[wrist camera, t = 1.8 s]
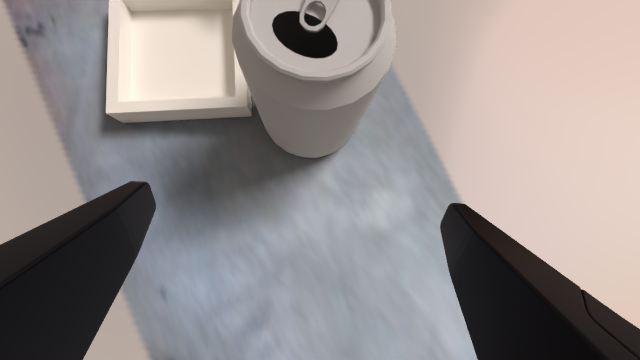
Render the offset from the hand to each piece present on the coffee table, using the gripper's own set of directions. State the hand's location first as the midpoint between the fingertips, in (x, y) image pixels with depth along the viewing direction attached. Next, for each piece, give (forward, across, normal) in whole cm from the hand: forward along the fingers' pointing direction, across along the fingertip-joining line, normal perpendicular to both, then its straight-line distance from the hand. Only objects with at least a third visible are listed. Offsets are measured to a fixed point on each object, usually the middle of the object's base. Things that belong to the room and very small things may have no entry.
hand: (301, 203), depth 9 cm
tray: (+18, +10, +1) cm, 21 cm away
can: (+15, 0, +4) cm, 16 cm away
